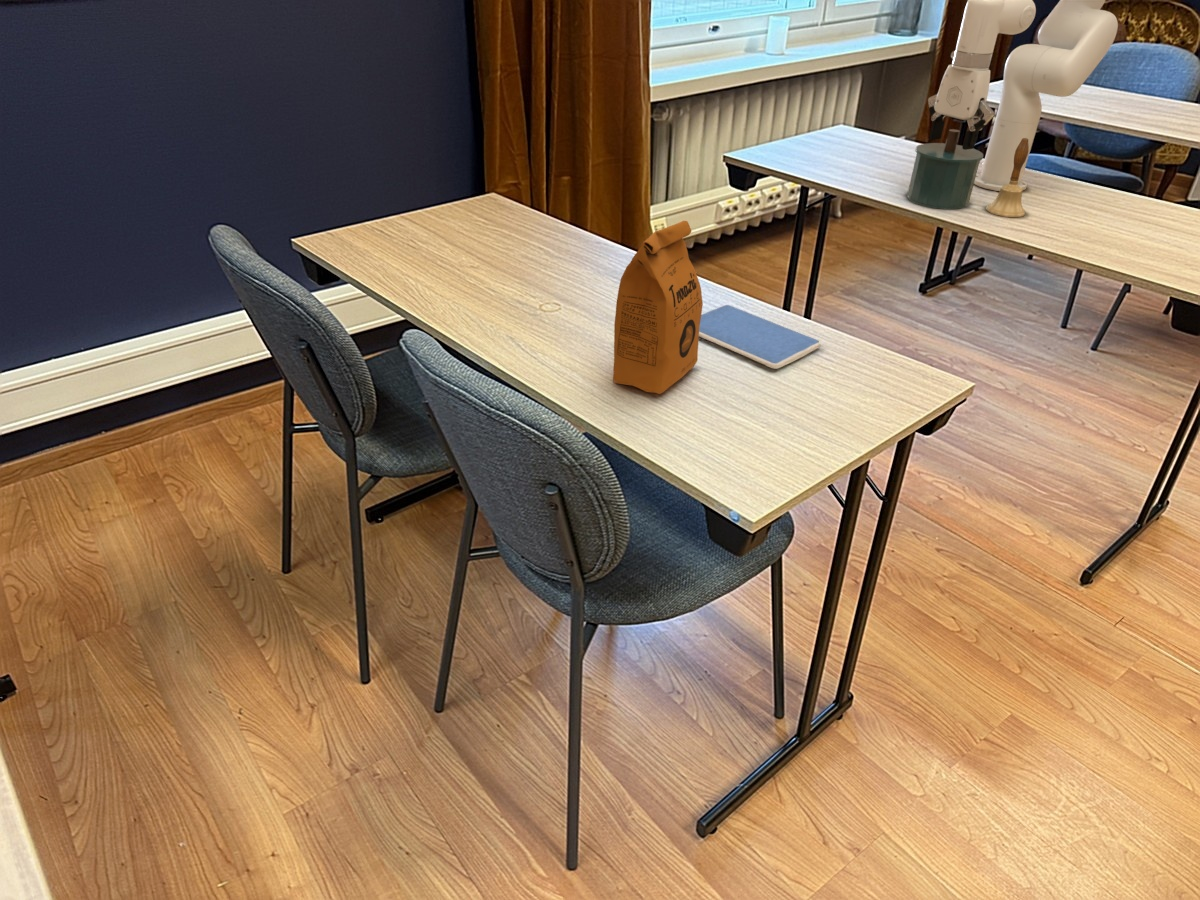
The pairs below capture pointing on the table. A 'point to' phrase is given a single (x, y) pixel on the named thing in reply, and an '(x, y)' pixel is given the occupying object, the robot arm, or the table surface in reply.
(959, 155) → the tin lid
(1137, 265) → the table surface
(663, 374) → the coffee package
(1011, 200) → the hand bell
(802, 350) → the tablet
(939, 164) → the tin
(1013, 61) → the robot arm
